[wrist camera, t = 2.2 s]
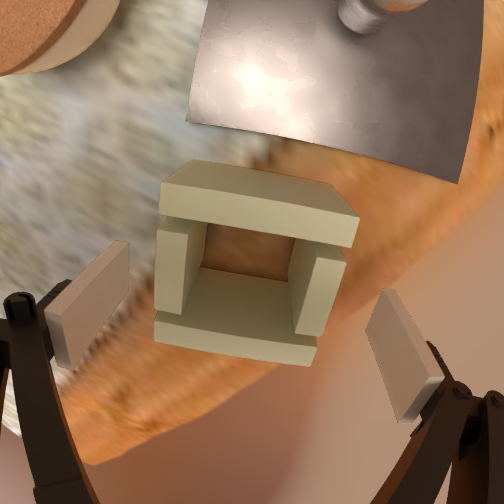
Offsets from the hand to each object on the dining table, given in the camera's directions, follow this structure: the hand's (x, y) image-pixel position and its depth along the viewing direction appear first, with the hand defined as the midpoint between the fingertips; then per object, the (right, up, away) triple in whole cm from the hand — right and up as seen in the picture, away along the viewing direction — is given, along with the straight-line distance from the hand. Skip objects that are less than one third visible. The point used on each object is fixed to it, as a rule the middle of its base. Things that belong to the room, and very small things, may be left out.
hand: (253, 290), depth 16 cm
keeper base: (+7, +17, 0) cm, 18 cm away
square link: (0, +3, +6) cm, 7 cm away
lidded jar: (-12, +19, 0) cm, 23 cm away
